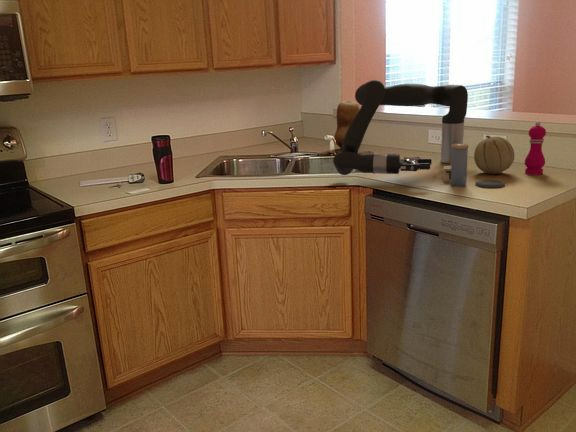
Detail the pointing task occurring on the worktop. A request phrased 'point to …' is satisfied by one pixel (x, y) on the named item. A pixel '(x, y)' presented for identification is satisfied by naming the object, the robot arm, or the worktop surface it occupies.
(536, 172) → the pepper mill
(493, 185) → the coaster
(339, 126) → the butternut squash
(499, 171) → the cantaloupe
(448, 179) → the t block
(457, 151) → the canister
